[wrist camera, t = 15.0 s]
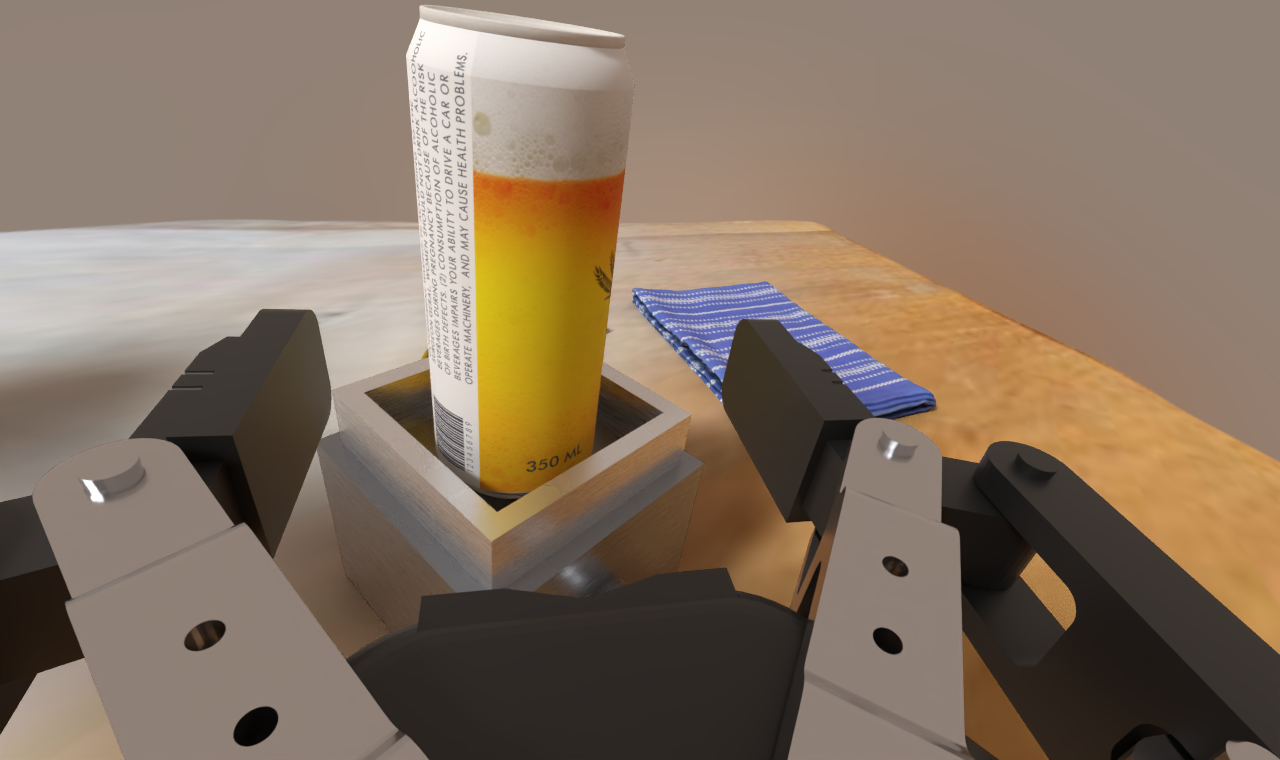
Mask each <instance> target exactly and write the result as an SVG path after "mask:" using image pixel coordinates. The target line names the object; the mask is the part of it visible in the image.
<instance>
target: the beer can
mask: <svg viewBox="0 0 1280 760" xmlns="http://www.w3.org/2000/svg"><path fill="white" fill-rule="evenodd" d="M624 46H625V36H623V35H621V34H617V33H612V32H607V31H603V30H597V29H592V28H587V27H581V26H575V25H569V24H563V23H557V22H551V21H545V20H538V19H532V18H526V17H519V16H512V15H505V14H498V13H491V12H483V11H476V10H469V9H460V8H453V7H444V6H433V5H421V6H420V20H419V23H418V25H417V28H416V31H415V33H414V36H413V39H412V41H411V44H410V46H409V49H408V52H407V54H406V59H407V72H408V86H409V99H410V113H411V125H412V139H413V152H414V165H415V179H416V192H417V206H418V218H419V232H420V245H421V259H422V272H423V285H424V299H425V312H426V325H427V338H428V352H429V365H430V378H431V392H432V405H433V418H434V431H435V445H436V452H437V456H438V458H439V460H440V461H441V462H442V463H443V464H444V465H445V466H446V467H447V468H448V469H450V470H451V471H452V472H453V473H454V474H455V475H456V476H457V477H459V478H460V479H461V480H462V481H463V482H464V483H465V484H466V485H467V486H469V487H470V488H471V489H473V490H475V491H477V492H479V493H482V494H484V495H487V496H491V497H496V498H502V499H520V498H522V497H523V496H525V495H527V494H528V493H530V492H532V491H533V490H535V489H537V488H538V487H540V486H542V485H543V484H545V483H547V482H548V481H550V480H552V479H553V478H555V477H557V476H559V475H560V474H562V473H564V472H565V471H567V470H569V469H570V468H572V467H574V466H575V465H577V464H579V463H580V462H582V461H584V460H585V459H587V458H589V457H590V456H591V453H592V450H593V443H594V434H595V425H596V417H597V408H598V399H599V391H600V382H601V373H602V365H603V356H604V347H605V339H606V330H607V322H608V313H609V304H610V296H611V287H612V278H613V270H614V261H615V252H616V244H617V235H618V226H619V218H620V209H621V201H622V192H623V183H624V175H625V166H626V156H627V148H628V140H629V131H630V123H631V114H632V105H633V96H634V88H635V84H634V81H633V77H632V74H631V70H630V67H629V63H628V60H627V56H626V53H625V49H624Z"/></svg>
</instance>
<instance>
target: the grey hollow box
mask: <svg viewBox="0 0 1280 760" xmlns="http://www.w3.org/2000/svg"><path fill="white" fill-rule="evenodd" d="M332 395H333V400H334V405H335V410H336V415H337V421H338V426H339V431H340V432H338V433H335V434H333V435H330V436H327V437H325V438H322V439H320V441H319V444H318V447H317V452H318V456H319V460H320V465H321V469H322V474H323V478H324V482H325V487H326V491H327V495H328V500H329V504H330V509H331V513H332V517H333V522H334V526H335V530H336V535H337V539H338V543H339V548H340V552H341V557H342V561H343V565H344V570H345V574H346V576H347V577H348V578H349V579H350V581H351V582H352V583H353V585H354V586H355V587H356V588H357V590H358V591H359V592H360V593H361V595H362V596H363V597H364V598H365V600H366V601H367V602H368V603H369V605H370V606H371V607H372V608H373V610H374V611H375V612H376V613H377V615H378V616H379V617H380V618H381V620H382V621H383V622H384V623H385V625H386V626H387V627H388V628H389V630H390V631H391V632H394V631H396V630H398V629H400V628H403V627H405V626H408V625H411V624H414V623H417V622H418V620H419V612H420V604H421V596H426V595H437V594H448V593H458V592H469V591H480V590H491V589H501V588H506V589H513V590H521V591H529V592H537V593H545V594H553V595H561V596H568V597H576V598H588V597H592V596H596V595H599V594H602V593H605V592H607V591H610V590H613V589H616V588H619V587H622V586H625V585H628V584H631V583H634V582H637V581H639V580H642V579H645V578H648V577H651V576H654V575H657V574H663V573H674V572H677V570H678V566H679V562H680V558H681V554H682V550H683V546H684V542H685V538H686V534H687V530H688V526H689V522H690V518H691V514H692V510H693V506H694V502H695V498H696V494H697V490H698V486H699V482H700V478H701V474H702V470H703V466H704V463H703V462H701V461H700V460H698V459H697V458H695V457H694V456H692V455H690V454H689V453H687V452H686V451H684V447H685V443H686V438H687V433H688V429H689V424H690V420H691V415H692V414H690V413H688V412H687V411H685V410H683V409H682V408H680V407H678V406H677V405H675V404H673V403H672V402H670V401H668V400H667V399H665V398H663V397H661V396H660V395H658V394H656V393H655V392H653V391H651V390H650V389H648V388H646V387H645V386H643V385H641V384H640V383H638V382H636V381H635V380H633V379H631V378H629V377H628V376H626V375H624V374H623V373H621V372H619V371H618V370H616V369H614V368H613V367H611V366H609V365H608V364H606V363H604V362H603V365H602V373H601V382H600V391H599V399H598V408H597V417H596V425H595V434H594V443H593V450H592V453H591V456H590V457H589V458H587V459H585V460H584V461H582V462H580V463H579V464H577V465H575V466H574V467H572V468H570V469H569V470H567V471H565V472H564V473H562V474H560V475H559V476H557V477H555V478H553V479H552V480H550V481H548V482H547V483H545V484H543V485H542V486H540V487H538V488H537V489H535V490H533V491H532V492H530V493H528V494H527V495H525V496H523V497H522V498H520V499H502V498H496V497H491V496H487V495H484V494H482V493H479V492H477V491H475V490H473V489H471V488H470V487H469V486H467V485H466V484H465V483H464V482H463V481H462V480H461V479H460V478H459V477H457V476H456V475H455V474H454V473H453V472H452V471H451V470H450V469H448V468H447V467H446V466H445V465H444V464H443V463H442V462H441V461H440V460H439V458H438V456H437V452H436V445H435V431H434V418H433V405H432V392H431V378H430V365H429V357H428V358H425V359H422V360H419V361H416V362H413V363H410V364H407V365H404V366H402V367H399V368H396V369H393V370H390V371H387V372H384V373H381V374H378V375H375V376H372V377H369V378H366V379H363V380H361V381H358V382H355V383H352V384H349V385H346V386H343V387H340V388H337V389H334V390H332Z"/></svg>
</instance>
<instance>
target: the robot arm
mask: <svg viewBox="0 0 1280 760" xmlns="http://www.w3.org/2000/svg"><path fill="white" fill-rule="evenodd" d="M832 370H833V369H832V368H831V367H830V366H829V365H828V364H827V363H826V362H825V360H824V359H823V358H822V357H821V356H820V355H819V354H817V353H816V352H814V351H813V350H811V349H809V348H808V347H806V346H805V345H803V344H801V343H800V342H797V341H796V340H795V339H794V338H793V336H792V335H791V334H790V333H789V332H788V331H787V329H786V328H785V327H784V326H783V325H782V324H781V322H779V321H778V320H775V319H742V320H740V321H739V323H738V324H737V326H736V329H735V333H734V337H733V341H732V345H731V349H730V353H729V357H728V362H727V366H726V370H725V374H724V378H723V383H722V401H723V406H724V409H725V411H726V413H727V415H728V417H729V419H730V420H731V422H732V424H733V426H734V428H735V430H736V431H737V433H738V435H739V437H740V439H741V441H742V442H743V444H744V446H745V448H746V450H747V452H748V453H749V455H750V457H751V459H752V461H753V463H754V464H755V466H756V468H757V470H758V472H759V473H760V475H761V477H762V479H763V481H764V483H765V484H766V486H767V488H768V490H769V492H770V494H771V495H772V497H773V499H774V501H775V503H776V505H777V506H778V508H779V510H780V512H781V514H782V515H783V517H784V519H785V521H786V523H789V522H803V521H812V522H813V524H814V526H815V528H814V531H813V533H812V535H811V538H810V540H809V544H808V547H807V551H806V554H805V558H804V561H803V565H802V568H801V571H800V575H799V578H798V582H797V585H796V589H795V592H794V596H793V599H792V603H791V606H790V608H787V607H785V606H783V605H781V604H779V603H777V602H774V601H772V600H769V599H766V598H763V597H761V596H757V595H753V594H749V593H745V592H740V591H735V588H734V586H733V583H732V581H731V578H730V576H729V573H728V571H727V568H717V569H707V570H696V571H685V572H674V573H663V574H657V575H654V576H651V577H648V578H645V579H642V580H639V581H637V582H634V583H631V584H628V585H625V586H622V587H619V588H616V589H613V590H610V591H607V592H605V593H602V594H599V595H596V596H592V597H588V598H576V597H568V596H561V595H553V594H545V593H537V592H529V591H521V590H513V589H506V588H501V589H491V590H480V591H469V592H458V593H448V594H437V595H426V596H421V604H420V612H419V620H418V622H417V623H414V624H411V625H408V626H405V627H403V628H400V629H398V630H396V631H394V632H391V633H389V634H387V635H385V636H383V637H381V638H379V639H377V640H375V641H374V642H372V643H370V644H368V645H367V646H365V647H363V648H362V649H360V650H359V651H357V652H356V653H354V654H353V655H351V656H350V657H349V658H347V659H346V660H345V658H344V657H343V656H342V654H341V653H340V652H339V650H338V649H337V647H336V646H335V645H334V643H333V642H332V641H331V639H330V638H329V636H328V635H327V634H326V632H325V631H324V629H323V628H322V627H321V625H320V624H319V623H318V621H317V620H316V618H315V617H314V616H313V614H312V613H311V612H310V610H309V609H308V607H307V606H306V605H305V603H304V602H303V601H302V599H301V598H300V596H299V595H298V594H297V592H296V591H295V589H294V588H293V587H292V585H291V584H290V583H289V581H288V580H287V578H286V577H285V576H284V574H283V573H282V572H281V570H280V569H279V567H278V566H277V565H276V563H275V562H274V561H273V558H274V555H275V553H276V550H277V548H278V545H279V543H280V540H281V538H282V535H283V533H284V530H285V528H286V525H287V523H288V520H289V517H290V515H291V512H292V510H293V507H294V505H295V502H296V500H297V497H298V495H299V492H300V490H301V487H302V485H303V482H304V479H305V477H306V474H307V472H308V469H309V467H310V464H311V462H312V459H313V457H314V454H315V452H316V449H317V447H318V444H319V441H320V439H321V436H322V434H323V431H324V429H325V426H326V424H327V421H328V418H329V415H330V410H331V386H330V380H329V375H328V370H327V365H326V360H325V355H324V350H323V345H322V340H321V335H320V330H319V325H318V321H317V318H316V316H315V314H314V312H313V311H312V310H293V309H262V310H260V311H259V312H258V314H257V315H256V316H255V318H254V319H253V320H252V322H251V323H250V325H249V326H248V327H247V329H246V330H245V331H244V333H243V334H242V335H241V337H226V338H224V339H222V340H221V341H219V342H217V343H215V344H214V345H212V346H210V347H208V348H207V349H205V350H203V351H202V352H200V353H199V354H198V355H197V357H196V358H195V359H194V360H193V362H192V363H191V364H190V365H189V366H188V368H187V369H186V370H185V375H181V376H180V377H179V379H178V380H177V381H176V382H175V383H174V385H173V386H172V390H169V391H168V392H167V393H166V394H165V395H164V397H163V398H162V399H161V400H160V402H159V403H158V404H157V405H156V406H155V408H154V409H153V410H152V411H151V412H150V414H149V415H148V416H147V417H146V419H145V420H144V421H143V422H142V423H141V425H140V426H139V427H138V428H137V429H136V431H135V432H134V433H133V434H132V435H131V437H130V438H129V439H127V440H120V441H115V442H111V443H107V444H103V445H100V446H96V447H94V448H91V449H88V450H85V451H83V452H81V453H78V454H76V455H74V456H72V457H70V458H68V459H66V460H65V461H63V462H61V463H60V464H58V465H57V466H55V467H54V468H52V469H51V470H50V471H49V472H48V473H46V474H45V475H44V476H43V477H42V478H41V480H40V481H39V482H38V483H37V485H36V487H35V489H34V491H33V495H31V496H27V497H23V498H18V499H14V500H9V501H4V502H0V734H1V733H2V731H3V729H4V728H5V726H6V725H7V723H8V721H9V720H10V718H11V716H12V715H13V713H14V711H15V710H16V708H17V706H18V705H19V703H20V701H21V700H22V698H23V696H24V695H25V693H26V691H27V690H28V688H29V686H30V685H31V683H32V681H33V680H34V678H35V676H36V675H37V673H40V672H43V671H46V670H49V669H52V668H55V667H58V666H61V665H64V664H67V663H70V662H73V661H76V660H79V659H82V658H85V659H86V662H87V665H88V667H89V670H90V672H91V675H92V677H93V680H94V683H95V685H96V688H97V690H98V693H99V695H100V698H101V701H102V703H103V706H104V708H105V711H106V713H107V716H108V719H109V721H110V724H111V726H112V729H113V731H114V734H115V737H116V739H117V742H118V744H119V747H120V749H121V752H122V755H123V757H124V760H998V759H997V758H996V757H994V756H993V755H992V754H990V753H989V752H988V751H986V750H985V749H983V748H982V747H981V746H979V745H978V744H977V743H975V742H974V741H973V740H971V739H970V738H969V737H967V736H966V735H965V729H964V688H963V648H962V630H963V631H964V633H965V634H966V636H967V637H968V639H969V640H970V642H971V643H972V645H973V646H974V648H975V649H976V651H977V652H978V654H979V655H980V657H981V658H982V660H983V661H984V663H985V664H986V666H987V667H988V669H989V670H990V672H991V673H992V675H993V676H994V678H995V679H996V681H997V682H998V684H999V685H1000V687H1001V688H1002V690H1003V691H1004V693H1005V694H1006V696H1007V697H1008V699H1009V700H1010V702H1011V703H1012V705H1013V706H1014V708H1015V709H1016V711H1017V712H1018V714H1019V715H1020V717H1021V718H1022V720H1023V721H1024V722H1025V724H1026V725H1027V727H1028V728H1029V730H1030V731H1031V733H1032V734H1033V736H1034V737H1035V739H1036V740H1037V742H1038V743H1039V745H1040V746H1041V748H1042V749H1043V751H1044V752H1045V754H1046V755H1047V757H1048V758H1049V760H1280V655H1279V654H1278V653H1277V652H1276V651H1275V650H1274V649H1273V648H1272V647H1270V646H1269V645H1268V644H1267V643H1266V642H1265V641H1264V640H1262V639H1261V638H1260V637H1259V636H1258V635H1257V634H1256V633H1255V632H1253V631H1252V630H1251V629H1250V628H1249V627H1248V626H1247V625H1246V624H1244V623H1243V622H1242V621H1241V620H1240V619H1239V618H1238V617H1237V616H1235V615H1234V614H1233V613H1232V612H1231V611H1230V610H1229V609H1227V608H1226V607H1225V606H1224V605H1223V604H1222V603H1221V602H1220V601H1218V600H1217V599H1216V598H1215V597H1214V596H1213V595H1212V594H1211V593H1209V592H1208V591H1207V590H1206V589H1205V588H1204V587H1203V586H1202V585H1200V584H1199V583H1198V582H1197V581H1196V580H1195V579H1194V578H1192V577H1191V576H1190V575H1189V574H1188V573H1187V572H1186V571H1185V570H1183V569H1182V568H1181V567H1180V566H1179V565H1178V564H1177V563H1176V562H1174V561H1173V560H1172V559H1171V558H1170V557H1169V556H1168V555H1167V554H1165V553H1164V552H1163V551H1162V550H1161V549H1160V548H1159V547H1157V546H1156V545H1155V544H1154V543H1153V542H1152V541H1151V540H1150V539H1148V538H1147V537H1146V536H1145V535H1144V534H1143V533H1142V532H1141V531H1139V530H1138V529H1137V528H1136V527H1135V526H1134V525H1133V524H1132V523H1130V522H1129V521H1128V520H1127V519H1126V518H1125V517H1124V516H1122V515H1121V514H1120V513H1119V512H1118V511H1117V510H1116V509H1115V508H1113V507H1112V506H1111V505H1110V504H1109V503H1108V502H1107V501H1106V500H1104V499H1103V498H1102V497H1101V496H1100V495H1099V494H1098V493H1097V492H1095V491H1094V490H1093V489H1092V488H1091V487H1090V486H1089V485H1087V484H1086V483H1085V482H1084V481H1083V480H1082V479H1081V478H1080V477H1078V476H1077V475H1076V474H1075V473H1074V472H1073V471H1072V470H1071V469H1069V468H1068V467H1067V466H1066V465H1065V464H1063V463H1062V462H1060V461H1059V460H1058V459H1056V458H1054V457H1053V456H1051V455H1049V454H1047V453H1045V452H1043V451H1041V450H1039V449H1036V448H1034V447H1031V446H1028V445H1025V444H1021V443H1017V442H1010V441H999V442H995V443H993V444H991V445H990V446H989V447H988V449H987V451H986V452H985V454H984V456H983V458H982V459H981V461H980V463H974V462H969V461H964V460H958V459H953V458H947V457H942V455H941V452H940V450H939V448H938V447H937V445H936V444H935V443H934V442H933V441H932V440H931V439H930V438H929V437H928V436H926V435H925V434H923V433H922V432H920V431H919V430H917V429H915V428H913V427H911V426H909V425H907V424H904V423H901V422H898V421H895V420H891V419H885V418H876V417H875V416H874V415H873V414H872V413H871V412H870V411H869V410H868V409H867V407H866V406H865V405H864V404H863V403H862V402H861V401H860V400H859V398H858V397H857V396H856V395H855V394H854V393H853V392H852V391H851V390H850V388H849V387H848V386H847V385H846V384H843V381H842V379H841V378H840V377H839V376H838V375H837V374H836V373H835V372H832ZM1036 553H1038V554H1039V555H1040V557H1041V558H1042V559H1043V560H1044V561H1045V562H1046V563H1047V564H1048V566H1049V567H1050V568H1051V569H1052V570H1053V571H1054V572H1055V573H1056V574H1057V576H1058V577H1059V578H1060V579H1061V580H1062V581H1063V582H1064V583H1065V584H1066V586H1067V587H1068V588H1069V590H1070V591H1071V593H1072V595H1073V597H1074V600H1075V604H1076V617H1075V620H1074V622H1073V623H1072V625H1071V626H1070V627H1069V628H1068V629H1067V630H1066V631H1065V630H1064V628H1063V627H1062V626H1061V625H1060V624H1059V622H1058V621H1057V620H1056V619H1055V618H1054V616H1053V615H1052V614H1051V613H1050V612H1049V610H1048V609H1047V608H1046V607H1045V606H1044V604H1043V603H1042V602H1041V601H1040V600H1039V598H1038V597H1037V596H1036V595H1035V594H1034V592H1033V591H1032V590H1031V589H1030V588H1029V586H1028V585H1027V584H1026V583H1025V582H1024V580H1023V579H1022V578H1021V577H1020V574H1021V573H1022V572H1023V570H1024V569H1025V567H1026V566H1027V565H1028V563H1029V562H1030V561H1031V559H1032V558H1033V557H1034V555H1035V554H1036Z"/></svg>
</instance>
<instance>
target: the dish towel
mask: <svg viewBox="0 0 1280 760" xmlns="http://www.w3.org/2000/svg"><path fill="white" fill-rule="evenodd" d="M632 293H633V294H632V296H633V299H634V300H633V303H635V304H636V306H637V308H638V309H639V312H640V313H642V314H643V315H644V317H645V318H646V319H647V320H648V321H649V322H650V323H651V325H652V326H653V327H654V328H655V329H656V330H657V331H658V332H659V333H660V334H661V335H662V336H663V338H664V339H665V340H666V341H667V342H668V343H669V344H670V345H671V346H672V347H673V348H674V349H675V351H676V352H677V353H678V354H679V355H680V356H681V357H682V358H683V359H684V360H685V361H686V362H687V363H688V365H689V366H690V367H691V369H692V370H693V371H694V372H695V373H696V374H697V375H698V376H699V377H700V378H701V379H702V380H703V381H704V382H705V384H706V385H707V386H708V387H709V388H710V389H711V390H712V391H713V393H714V394H715V395H716V397H718V398H719V400H720V402H722V404H723V401H722V383H723V378H724V374H725V370H726V366H727V362H728V357H729V353H730V349H731V345H732V341H733V337H734V333H735V329H736V326H737V324H738V323H739V321H740V320H742V319H775V320H778V321H779V322H781V324H782V325H783V326H784V327H785V328H786V329H787V331H788V332H789V333H790V334H791V335H792V336H793V338H794V339H795V340H796V341H797V342H800V343H801V344H803V345H805V346H806V347H808V348H809V349H811V350H813V351H814V352H816V353H817V354H819V355H820V356H821V357H822V358H823V359H824V360H825V362H826V363H827V364H828V365H829V366H830V367H831V368H832V369H833V370H832V372H835V373H836V374H837V375H838V376H839V377H840V378H841V379H842V381H843V384H846V385H847V386H848V387H849V388H850V390H851V391H852V392H853V393H854V394H855V395H856V396H857V397H858V398H859V400H860V401H861V402H862V403H863V404H864V405H865V406H866V407H867V409H868V410H869V411H870V412H871V413H872V414H873V415H874V416H875V417H876V418H885V419H893V418H898V417H903V416H908V415H913V414H918V413H923V412H926V411H928V410H929V409H932V408H934V407H935V406H936V404H935V402H936V400H935V399H934V395H933V394H932V393H931V392H929V391H928V390H926V389H925V388H923V387H920V386H918V385H916V384H914V383H912V382H911V381H909V380H908V379H905V378H903V377H901V376H900V375H899V374H897V373H896V372H894V371H893V370H891V369H890V368H889V367H887V366H886V365H884V364H882V363H881V362H878V361H877V360H875V359H874V358H872V357H871V356H870V355H868V354H867V353H866V352H865V351H863V350H861V349H860V348H859V347H857V346H856V345H855V344H853V343H852V342H850V341H849V340H848V339H847V338H845V337H844V336H842V335H841V334H839V333H837V332H836V331H834V330H833V329H831V328H830V327H828V326H827V325H824V324H823V323H822V322H821V321H819V320H818V319H817V318H815V317H814V316H812V315H811V314H810V313H808V312H806V311H805V310H803V309H801V308H800V307H799V306H798V305H797V304H795V303H793V302H792V301H791V300H789V299H788V298H787V297H786V296H785V295H783V294H782V293H781V292H780V291H779V290H777V289H776V288H774V287H773V286H772V285H770V284H769V283H768V282H760V283H752V284H740V285H732V286H724V287H712V288H701V289H694V290H685V291H672V290H653V289H642V288H634V289H632Z"/></svg>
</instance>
